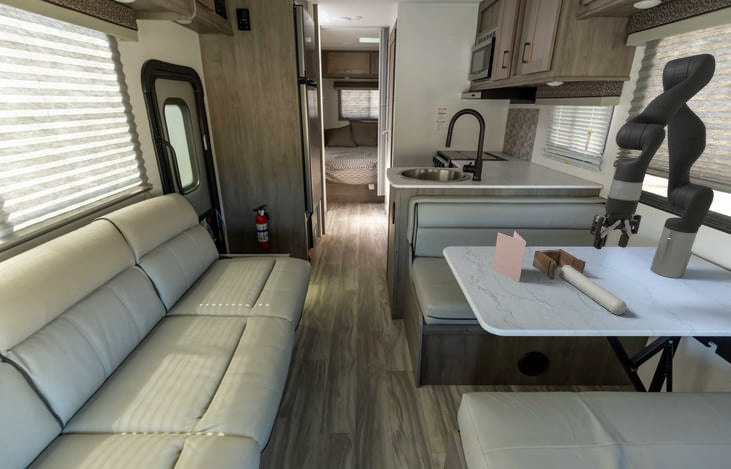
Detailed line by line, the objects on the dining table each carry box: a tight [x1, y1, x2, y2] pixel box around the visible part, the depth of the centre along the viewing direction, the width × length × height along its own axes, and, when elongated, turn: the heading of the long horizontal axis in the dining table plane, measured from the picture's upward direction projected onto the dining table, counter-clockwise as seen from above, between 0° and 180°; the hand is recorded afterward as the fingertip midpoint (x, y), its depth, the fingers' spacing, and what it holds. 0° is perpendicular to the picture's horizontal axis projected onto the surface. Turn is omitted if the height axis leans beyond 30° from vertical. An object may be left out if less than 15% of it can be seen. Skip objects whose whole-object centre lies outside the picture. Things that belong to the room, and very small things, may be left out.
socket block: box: [532, 248, 587, 281], centre depth 132 cm, size 13×12×6 cm
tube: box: [558, 265, 628, 316], centre depth 116 cm, size 5×5×25 cm
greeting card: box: [492, 230, 528, 283], centre depth 127 cm, size 11×7×15 cm, turn 178°
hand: (609, 247), depth 109 cm, fingers open, 8 cm apart
